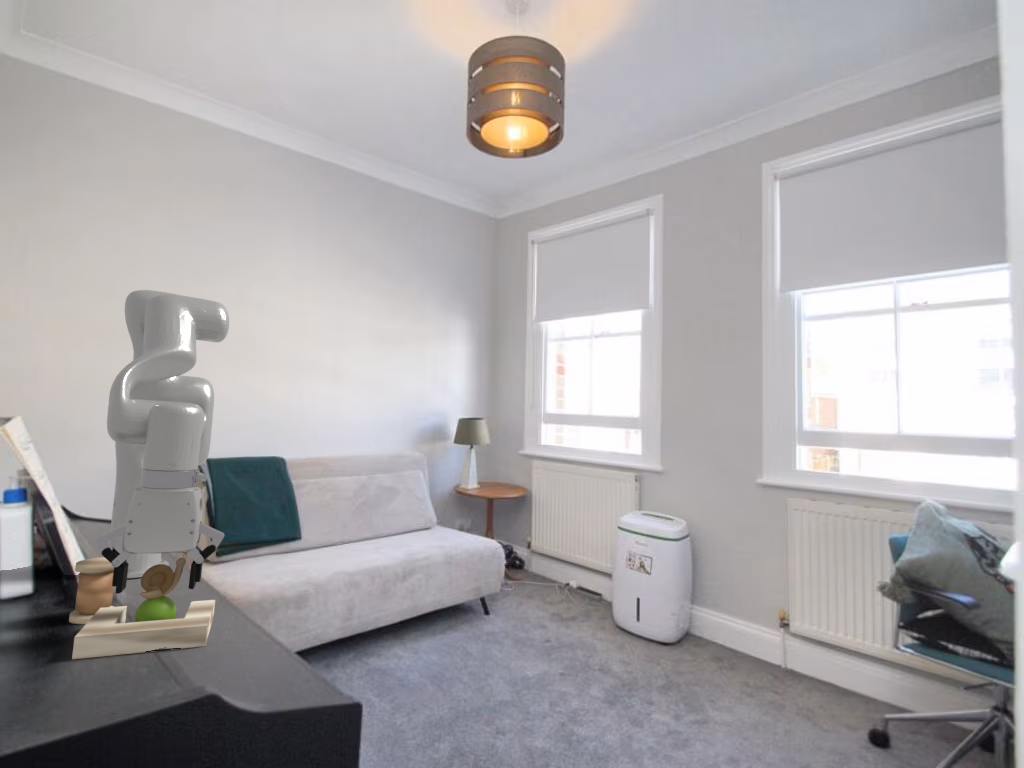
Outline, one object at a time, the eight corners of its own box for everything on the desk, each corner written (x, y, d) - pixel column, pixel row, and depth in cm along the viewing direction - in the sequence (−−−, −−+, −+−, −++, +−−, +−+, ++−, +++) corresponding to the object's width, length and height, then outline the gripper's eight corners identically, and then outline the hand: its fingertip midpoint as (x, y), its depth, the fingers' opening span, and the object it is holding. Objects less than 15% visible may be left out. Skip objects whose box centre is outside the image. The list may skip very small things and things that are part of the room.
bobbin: (75, 612, 89) (82, 558, 90) (119, 609, 91) (125, 556, 92) (63, 625, 83) (70, 567, 84) (109, 622, 86) (116, 565, 87)
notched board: (98, 627, 84) (100, 607, 84) (213, 617, 90) (215, 599, 90) (71, 659, 73) (74, 636, 73) (205, 646, 79) (207, 625, 79)
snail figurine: (187, 629, 85) (195, 553, 86) (142, 641, 79) (150, 560, 80) (171, 620, 88) (178, 547, 89) (126, 632, 82) (135, 553, 83)
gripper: (231, 478, 92) (221, 578, 91) (110, 476, 85) (97, 584, 84) (228, 484, 85) (216, 592, 84) (96, 482, 78) (82, 600, 77)
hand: (157, 588), depth 84 cm, fingers open, 9 cm apart
